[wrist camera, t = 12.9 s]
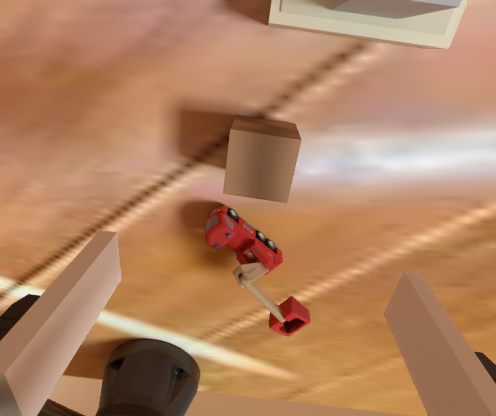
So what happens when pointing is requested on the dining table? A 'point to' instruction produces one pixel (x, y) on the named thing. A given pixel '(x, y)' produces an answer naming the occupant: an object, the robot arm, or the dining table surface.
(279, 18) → the plinth
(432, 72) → the dining table surface
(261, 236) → the toy fire truck
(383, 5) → the block
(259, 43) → the dining table surface
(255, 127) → the block
